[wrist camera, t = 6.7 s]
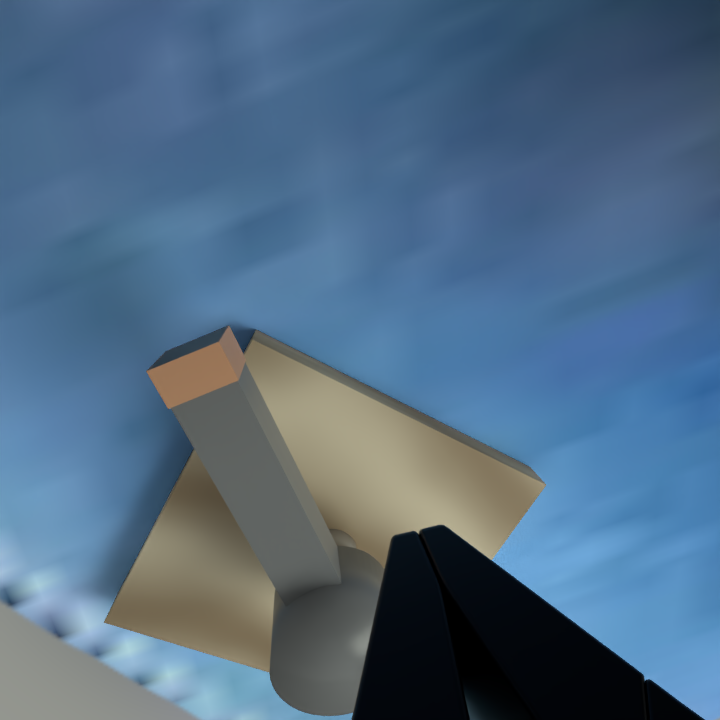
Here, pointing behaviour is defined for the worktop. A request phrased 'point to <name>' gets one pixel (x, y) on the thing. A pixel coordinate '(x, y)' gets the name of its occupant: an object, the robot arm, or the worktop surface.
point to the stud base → (332, 496)
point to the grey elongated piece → (276, 525)
